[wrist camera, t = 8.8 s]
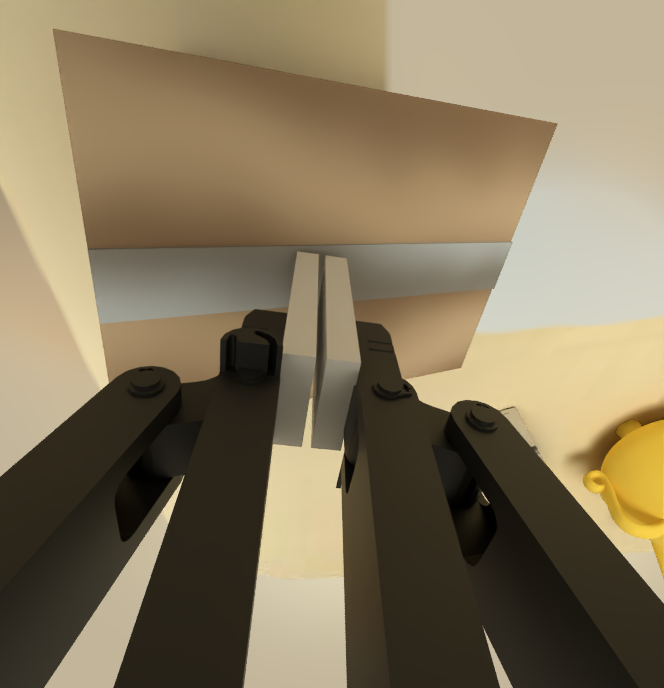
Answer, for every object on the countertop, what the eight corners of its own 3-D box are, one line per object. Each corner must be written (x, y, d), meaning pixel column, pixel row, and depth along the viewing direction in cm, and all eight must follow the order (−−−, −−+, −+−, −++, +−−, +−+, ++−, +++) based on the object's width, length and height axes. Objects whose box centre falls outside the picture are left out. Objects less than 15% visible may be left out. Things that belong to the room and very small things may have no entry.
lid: (53, 28, 10) (52, 28, 9) (541, 120, 18) (559, 123, 17) (116, 423, 16) (118, 439, 16) (451, 359, 24) (462, 368, 23)
